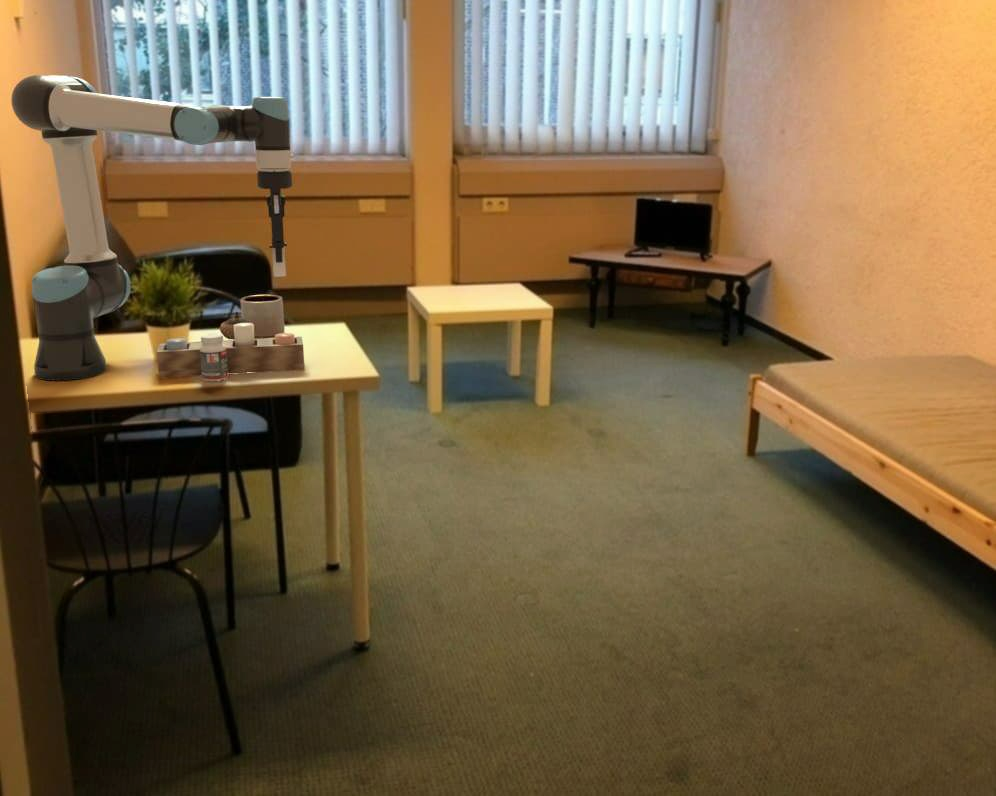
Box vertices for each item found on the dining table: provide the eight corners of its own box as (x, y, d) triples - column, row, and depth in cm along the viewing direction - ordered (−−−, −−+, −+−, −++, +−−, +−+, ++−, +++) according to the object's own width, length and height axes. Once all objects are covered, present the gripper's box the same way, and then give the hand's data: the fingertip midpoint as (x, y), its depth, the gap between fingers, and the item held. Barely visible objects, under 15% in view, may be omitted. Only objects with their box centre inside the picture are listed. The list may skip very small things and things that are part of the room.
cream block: (235, 351, 229) (233, 327, 228) (235, 346, 233) (233, 323, 232) (255, 350, 230) (253, 326, 229) (255, 345, 234) (253, 322, 233)
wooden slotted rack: (159, 377, 225) (156, 351, 224) (162, 368, 233) (159, 343, 231) (304, 369, 232) (303, 344, 230) (303, 361, 240) (301, 336, 238)
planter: (250, 328, 273) (248, 293, 270) (290, 329, 272) (287, 294, 269) (236, 338, 262) (234, 301, 260) (277, 339, 261) (275, 302, 259)
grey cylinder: (167, 367, 227) (165, 343, 225) (169, 362, 231) (166, 338, 229) (187, 366, 228) (185, 342, 226) (189, 361, 232) (186, 337, 230)
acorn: (215, 351, 249) (212, 311, 246) (244, 345, 255) (241, 306, 252) (234, 356, 243) (230, 316, 241) (263, 350, 249) (260, 311, 246)
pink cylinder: (276, 361, 232) (274, 337, 230) (276, 356, 236) (274, 333, 234) (295, 360, 233) (294, 336, 231) (295, 355, 237) (293, 332, 235)
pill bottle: (228, 381, 223) (225, 337, 220) (202, 383, 221) (198, 339, 218) (228, 374, 228) (224, 331, 225) (201, 376, 227) (198, 333, 224)
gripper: (292, 171, 217) (297, 280, 224) (290, 167, 229) (295, 270, 236) (256, 172, 215) (263, 281, 222) (256, 167, 227) (262, 271, 234)
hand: (279, 275), depth 229 cm, fingers closed
